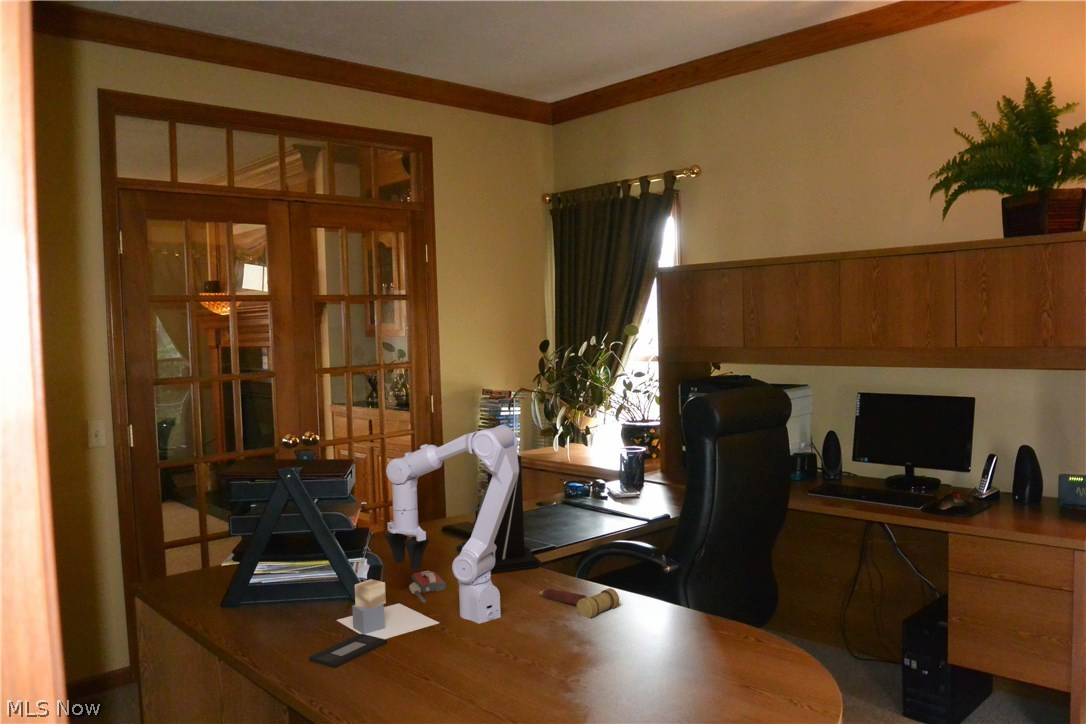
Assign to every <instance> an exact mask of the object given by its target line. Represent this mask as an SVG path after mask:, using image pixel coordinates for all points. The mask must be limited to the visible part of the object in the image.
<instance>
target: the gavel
mask: <svg viewBox="0 0 1086 724" xmlns="http://www.w3.org/2000/svg"><path fill="white" fill-rule="evenodd" d="M538 593H539V595H541V596H542V597H544V598H545V599H546V600H550V601H553V602H554V601H555V602H559V603H564V604H569V605H575V606H576V611H577V614H578V615H579V616H580V617H581V616H584V617H587V618H586V619H588V618H590V619H591V617H592V618H595V617H596V615H598V614H599V613H600V614H601V613H603V612H604V611H607V610H609V609H610V610H613V609H616V608H617V607H618V606H619V605H620V596H619V594H618V592H617V591H616V590H615V589H613V588H611V587H609V588H606V589H604V590H601V591H600V592H599V593H597V594H594V595H591V596H586V595H585V594H581V593H575V592H569V591H564V590H563V591H562V590H557V589H551V588H548V589H543V590H540V591H539V592H538ZM584 617H583V618H584Z"/></svg>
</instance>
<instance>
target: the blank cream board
mask: <svg viewBox="0 0 1086 724" xmlns="http://www.w3.org/2000/svg"><path fill="white" fill-rule="evenodd" d="M384 619H385V629H381V630H378V631H374V632H370V633H367V634H365V635H369V636H374V637H378V638H382V639H386V640H388V639H390V638H393V637H396V636H400V635H404V634H407V633H410V632H414V631H417V630H420V629H424V628H427V627H430V626H435V625H438V624H440V622H439V621H437V620H434V619H433V618H430V617H428V616H427V615H424V614H422V613H421V612H419V611H416V610H415V609H412V608H409V607H407V606H406V605H404V604H401V603H395V604H391V605H388V606H384ZM336 621H337V622H338V623H340V624H341V625H344V626H345V627H347V628H349V629H351V630H353V631H354V632H356V633H358V635H359V634H362V633H361V632H359V631H357V630H356V629H354V628H353V615H350V616H347V617H343V618H338V619H336Z"/></svg>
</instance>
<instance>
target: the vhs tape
mask: <svg viewBox="0 0 1086 724" xmlns="http://www.w3.org/2000/svg"><path fill="white" fill-rule="evenodd" d="M387 644H388V639H382V638H378V637H374V636H369V635H365V634H359V633H358V634H357V635H355V636H352V637H350V638H348V639H346V640H343V641H341V642H339V643H337V644H334V645H333V646H330V647H328V648H326V649H323V650H321V651H319V652H317V653H314V654H312V655H310V656H308V661H309V662H312V663H316V664H318V665H323V666H326V667H330V668H333V669H337V668H340V667H341V666H344V665H345V664H348V663H350V662H351V661H354V660H356V659H358V658H359V657H362V656H364V655H366V654H368V653H370V652H373V651H375V650H376V649H378V648H380V647H382V646H384V645H387Z"/></svg>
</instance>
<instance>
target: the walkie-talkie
mask: <svg viewBox="0 0 1086 724" xmlns="http://www.w3.org/2000/svg"><path fill="white" fill-rule="evenodd" d="M408 580H409V581H408V582H410V584H409V585H408V589H409V591H410V592H411V594H413V595H415V596H416V597H417V598H418V599H419V600H420V602H421V603H427V600H426V599H425V598H424V596H423V595H422V594H421V593H428V592H441V591H444V590H446V589H447V582H445V580H443V578H441V576H440V575H439V574H437V573H436V572H435V571H434V570H433V571H432V570H425V571H418V572H414V573H412V574H411V577H409V579H408Z"/></svg>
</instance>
